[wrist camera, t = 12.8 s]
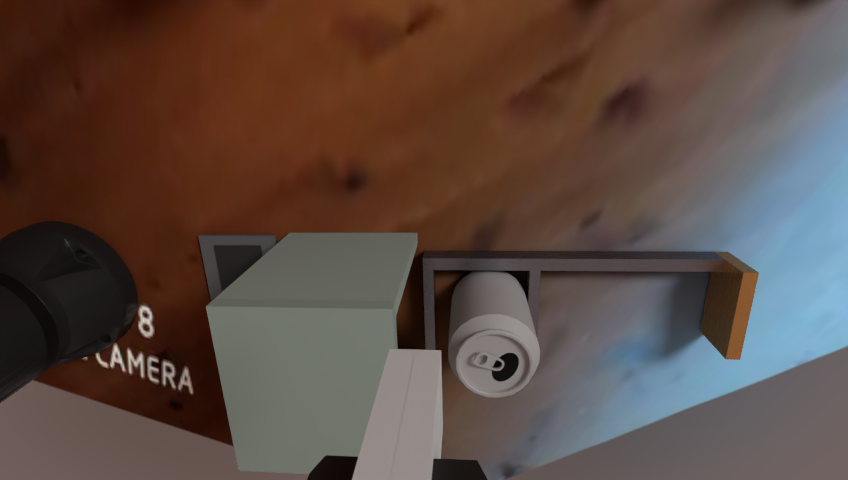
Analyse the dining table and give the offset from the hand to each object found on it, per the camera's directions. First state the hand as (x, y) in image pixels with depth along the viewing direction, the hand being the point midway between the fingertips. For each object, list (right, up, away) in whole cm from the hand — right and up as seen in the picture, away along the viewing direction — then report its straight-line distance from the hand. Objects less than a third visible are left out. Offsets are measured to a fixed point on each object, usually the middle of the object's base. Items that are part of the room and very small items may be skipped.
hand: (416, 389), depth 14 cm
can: (+7, -2, +35) cm, 35 cm away
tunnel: (-7, -2, +36) cm, 36 cm away
